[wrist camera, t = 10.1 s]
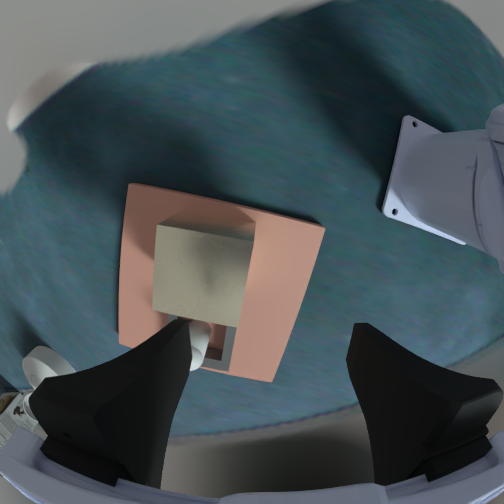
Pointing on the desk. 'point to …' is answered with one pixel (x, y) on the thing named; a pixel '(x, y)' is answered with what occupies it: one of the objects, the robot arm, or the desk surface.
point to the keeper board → (257, 286)
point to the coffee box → (12, 416)
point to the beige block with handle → (203, 273)
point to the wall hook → (42, 370)
